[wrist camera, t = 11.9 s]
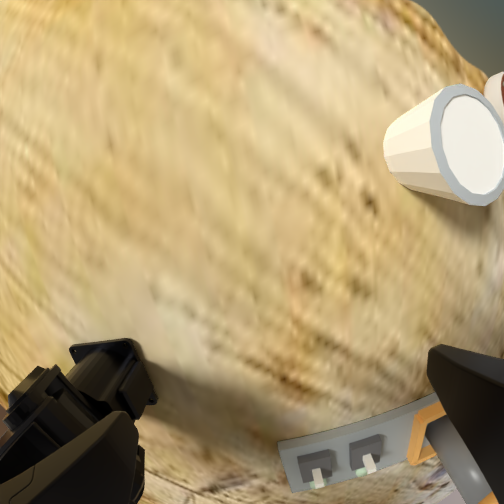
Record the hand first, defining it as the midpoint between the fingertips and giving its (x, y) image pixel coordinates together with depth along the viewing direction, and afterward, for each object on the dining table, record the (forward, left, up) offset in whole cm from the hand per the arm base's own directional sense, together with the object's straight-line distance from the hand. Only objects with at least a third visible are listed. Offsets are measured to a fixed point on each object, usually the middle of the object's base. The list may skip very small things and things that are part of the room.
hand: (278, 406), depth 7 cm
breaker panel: (+9, -21, -13) cm, 26 cm away
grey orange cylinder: (+15, -21, -12) cm, 29 cm away
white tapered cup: (+13, +6, -13) cm, 19 cm away
